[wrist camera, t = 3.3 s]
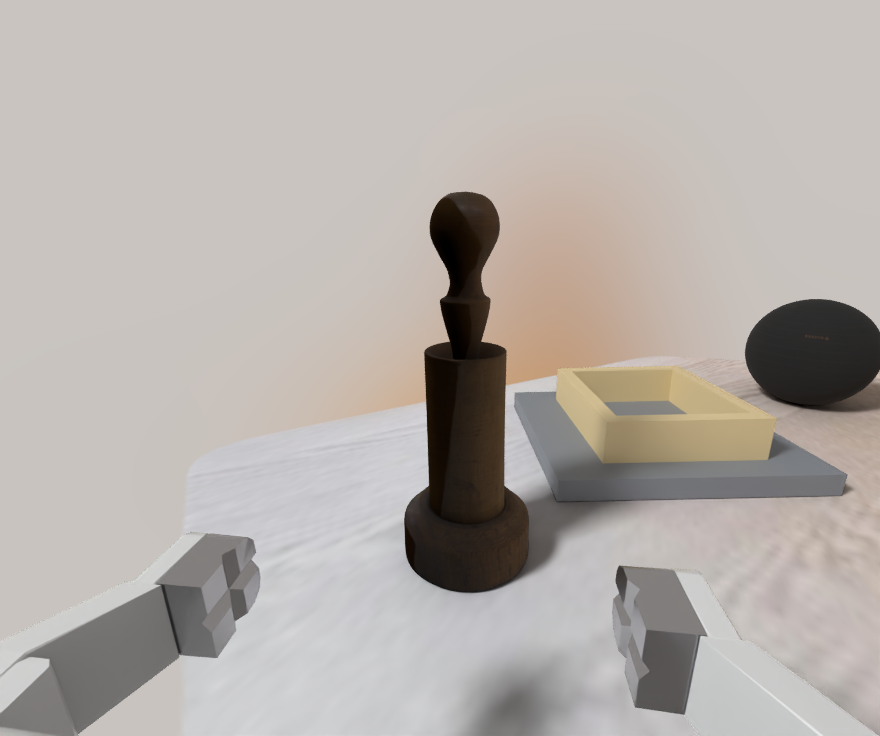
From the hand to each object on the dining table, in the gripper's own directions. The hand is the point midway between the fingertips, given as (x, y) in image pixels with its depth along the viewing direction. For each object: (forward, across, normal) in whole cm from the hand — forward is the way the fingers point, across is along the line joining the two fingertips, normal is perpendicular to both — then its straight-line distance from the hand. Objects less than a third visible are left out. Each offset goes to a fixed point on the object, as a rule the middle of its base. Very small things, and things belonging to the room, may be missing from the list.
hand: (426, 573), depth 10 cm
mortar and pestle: (+12, 0, +9) cm, 15 cm away
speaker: (+36, -31, +9) cm, 49 cm away
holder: (+26, -13, +9) cm, 30 cm away
